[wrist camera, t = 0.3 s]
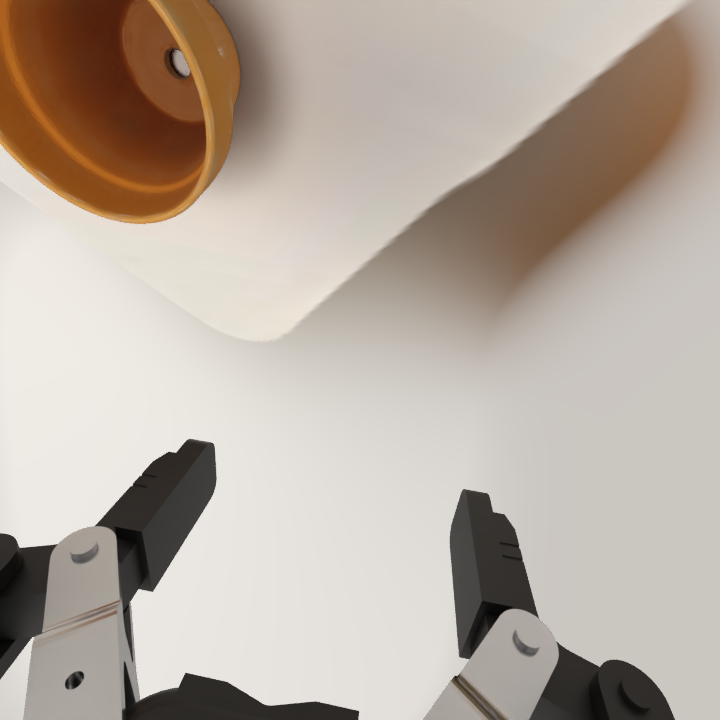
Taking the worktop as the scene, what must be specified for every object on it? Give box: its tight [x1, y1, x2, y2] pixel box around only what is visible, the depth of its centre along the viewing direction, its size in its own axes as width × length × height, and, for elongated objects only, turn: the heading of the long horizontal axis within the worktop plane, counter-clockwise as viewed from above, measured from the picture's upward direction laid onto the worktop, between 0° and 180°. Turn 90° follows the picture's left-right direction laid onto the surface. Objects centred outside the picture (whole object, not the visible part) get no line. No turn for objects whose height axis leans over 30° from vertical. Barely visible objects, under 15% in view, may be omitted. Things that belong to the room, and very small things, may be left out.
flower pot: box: [0, 0, 240, 224], centre depth 26 cm, size 14×14×13 cm
